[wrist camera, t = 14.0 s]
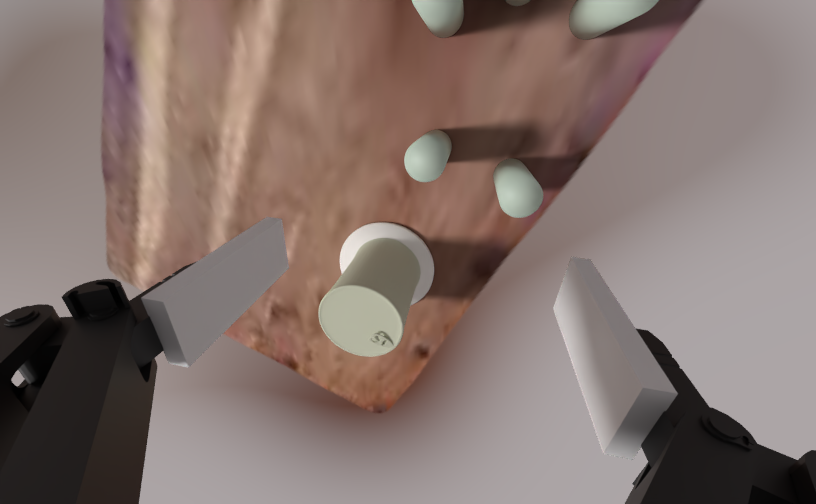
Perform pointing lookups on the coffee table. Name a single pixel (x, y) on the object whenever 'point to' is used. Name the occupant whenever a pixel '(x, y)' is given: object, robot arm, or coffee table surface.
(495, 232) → the coffee table surface
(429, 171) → the posts
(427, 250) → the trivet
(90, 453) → the robot arm
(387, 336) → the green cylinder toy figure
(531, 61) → the coffee table surface
